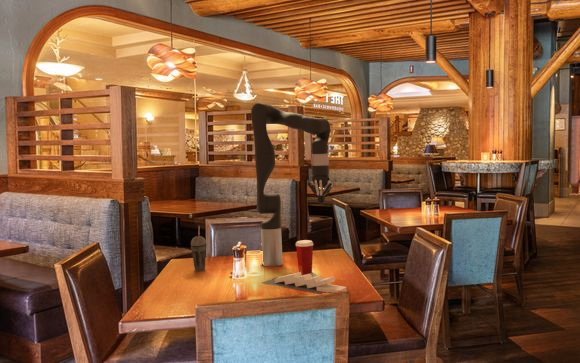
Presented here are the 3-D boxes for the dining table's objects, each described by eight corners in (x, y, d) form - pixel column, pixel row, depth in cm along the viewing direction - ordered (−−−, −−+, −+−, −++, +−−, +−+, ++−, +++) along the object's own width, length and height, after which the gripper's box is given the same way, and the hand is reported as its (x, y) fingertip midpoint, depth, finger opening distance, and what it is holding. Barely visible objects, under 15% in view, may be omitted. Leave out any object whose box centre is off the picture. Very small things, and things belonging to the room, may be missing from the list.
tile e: (316, 286, 191) (339, 290, 185) (323, 283, 195) (346, 286, 189) (316, 290, 192) (339, 294, 186) (324, 287, 196) (346, 291, 189)
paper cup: (317, 272, 221) (316, 240, 219) (310, 276, 214) (309, 243, 212) (300, 271, 224) (299, 239, 223) (293, 275, 217) (292, 242, 216)
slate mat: (261, 284, 205) (261, 282, 205) (276, 278, 213) (276, 277, 213) (319, 295, 188) (319, 293, 188) (333, 288, 196) (333, 286, 196)
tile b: (284, 281, 201) (303, 276, 195) (291, 278, 205) (310, 273, 199) (285, 285, 201) (304, 280, 195) (292, 281, 205) (312, 277, 199)
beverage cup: (188, 271, 230) (186, 227, 229) (197, 267, 237) (195, 224, 235) (202, 272, 228) (200, 228, 226) (211, 268, 234) (208, 225, 233)
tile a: (274, 279, 204) (293, 274, 198) (282, 276, 208) (300, 271, 202) (275, 283, 204) (294, 278, 198) (283, 280, 208) (301, 275, 202)
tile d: (306, 284, 194) (327, 279, 188) (313, 281, 198) (334, 276, 192) (307, 288, 194) (328, 283, 188) (315, 285, 198) (335, 280, 192)
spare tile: (303, 283, 202) (323, 279, 195) (295, 286, 198) (315, 282, 192) (302, 279, 202) (321, 274, 196) (294, 282, 198) (314, 278, 192)
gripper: (302, 164, 224) (304, 204, 225) (328, 164, 216) (329, 205, 217) (312, 163, 230) (313, 202, 231) (337, 163, 222) (338, 203, 223)
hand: (321, 203), depth 224 cm, fingers closed
